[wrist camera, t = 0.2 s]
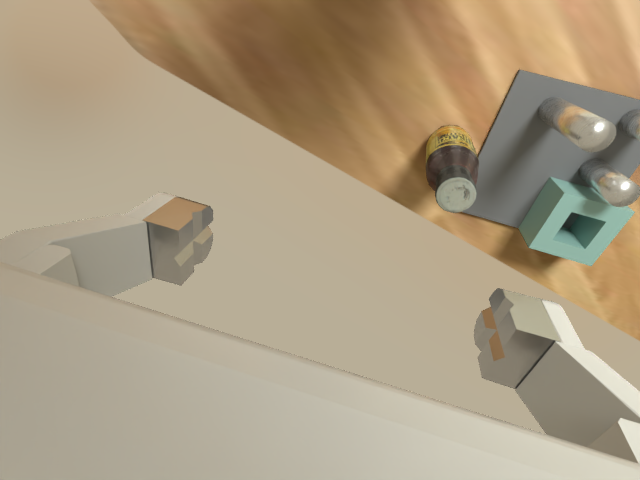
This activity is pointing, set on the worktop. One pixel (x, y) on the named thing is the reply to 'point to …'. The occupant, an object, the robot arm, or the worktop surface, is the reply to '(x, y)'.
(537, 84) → the mat
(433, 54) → the worktop surface
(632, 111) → the short pin
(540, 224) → the block
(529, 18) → the worktop surface
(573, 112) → the long pin
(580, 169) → the medium pin
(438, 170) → the sauce bottle
